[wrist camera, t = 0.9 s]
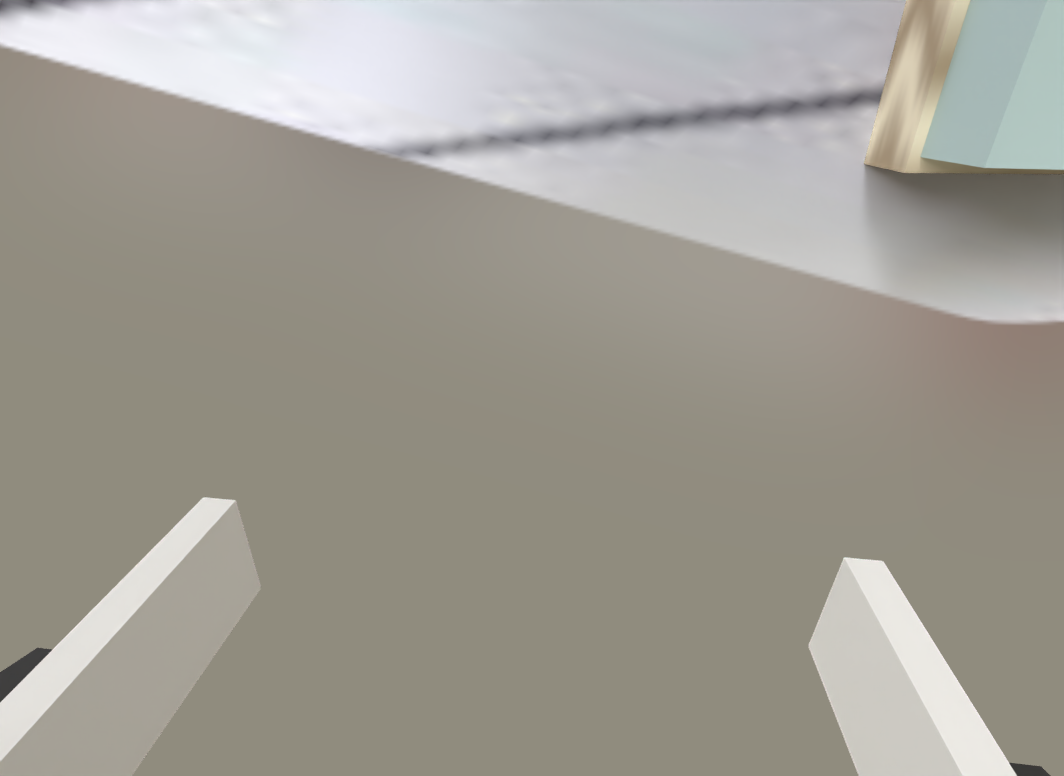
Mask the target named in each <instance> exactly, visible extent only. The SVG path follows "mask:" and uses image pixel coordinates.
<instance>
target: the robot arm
mask: <svg viewBox="0 0 1064 776" xmlns="http://www.w3.org/2000/svg"><path fill="white" fill-rule="evenodd" d="M260 589H261V585H260V582H259V579H258V575H257V572H256V568H255V564H254V561H253V558H252V554H251V551H250V547H249V544H248V540H247V537H246V534H245V530H244V527H243V523H242V520H241V516H240V513H239V509H238V506H237V503H236V500H227V499H226V500H225V499H216V498H205V497H204V498H202V499H201V500H200V501H199V502H198V503H197V504H196V506H194V507H193V508H192V509H191V511H190V512H189V513H188V514H187V515H186V516H185V517H184V518H183V519H182V520H181V521H180V522H179V523H178V524H177V525H176V526H175V527H174V528H173V529H172V530H171V531H170V532H169V533H168V534H167V535H166V536H165V537H164V538H163V539H162V540H161V541H160V542H159V543H158V544H157V545H156V546H155V547H154V548H153V549H152V550H151V551H150V552H149V553H148V554H147V555H146V556H145V557H144V558H143V559H142V560H141V561H140V562H139V563H138V564H137V565H136V566H135V567H134V568H133V569H132V570H131V571H130V572H129V573H128V574H127V575H126V576H125V577H124V578H123V579H122V580H121V581H120V582H119V583H118V584H117V585H116V586H115V587H114V588H113V589H112V590H111V591H110V592H109V593H108V595H106V596H105V597H104V598H103V599H102V600H101V601H100V602H99V603H98V605H96V607H94V609H92V610H91V612H90V613H89V614H88V615H87V616H86V617H85V618H84V619H83V620H82V621H81V622H80V623H79V624H78V625H77V626H76V627H75V628H74V629H73V630H72V631H71V632H70V633H69V634H68V635H67V636H66V637H65V638H64V639H63V640H62V641H61V642H60V643H59V644H58V645H57V646H56V647H55V648H54V649H53V650H51V649H43V648H36V649H35V650H34V651H32V652H30V653H29V654H27V655H26V656H24V657H23V658H21V659H20V660H18V661H17V662H15V663H14V664H12V665H11V666H9V667H8V668H6V669H5V670H3V671H2V672H0V776H132V775H133V773H134V772H135V770H136V769H137V767H138V766H139V764H140V763H141V762H142V760H143V759H144V757H145V756H146V754H147V753H148V751H149V750H150V749H151V747H152V746H153V744H154V743H155V741H156V740H157V738H158V737H159V735H160V734H161V733H162V731H163V730H164V728H165V727H166V725H167V724H168V722H169V721H170V719H171V718H172V717H173V715H174V714H175V712H176V711H177V709H178V708H179V706H180V705H181V703H182V702H183V701H184V699H185V697H186V696H187V695H188V693H189V692H190V690H191V689H192V687H193V686H194V685H195V683H196V682H197V680H198V679H199V677H200V676H201V674H202V673H203V672H204V670H205V669H206V667H207V666H208V664H209V663H210V661H211V660H212V658H213V657H214V655H215V654H216V652H217V651H218V650H219V648H220V647H221V645H222V644H223V642H224V641H225V640H226V638H227V637H228V635H229V634H230V632H231V631H232V629H233V628H234V626H235V625H236V623H237V622H238V621H239V619H240V618H241V616H242V615H243V613H244V612H245V610H246V609H247V607H248V606H249V604H250V603H251V602H252V600H253V599H254V597H255V596H256V594H257V593H258V592H259V590H260ZM808 647H809V649H810V652H811V654H812V657H813V659H814V662H815V665H816V667H817V670H818V672H819V675H820V677H821V680H822V683H823V685H824V688H825V690H826V693H827V695H828V698H829V701H830V703H831V706H832V708H833V711H834V713H835V716H836V719H837V721H838V724H839V726H840V728H841V731H842V734H843V736H844V739H845V742H846V744H847V746H848V749H849V752H850V754H851V757H852V760H853V762H854V765H855V767H856V770H857V772H858V775H859V776H1050V775H1049V774H1048V773H1047V772H1046V771H1045V770H1044V769H1043V768H1042V767H1040V766H1031V765H1023V764H1015V763H1009V762H1008V761H1007V759H1006V758H1005V756H1004V754H1003V753H1002V751H1001V750H1000V748H999V746H998V745H997V743H996V741H995V740H994V738H993V737H992V735H991V734H990V732H989V730H988V729H987V727H986V725H985V724H984V722H983V721H982V719H981V717H980V716H979V714H978V713H977V711H976V709H975V708H974V706H973V705H972V703H971V701H970V700H969V698H968V697H967V695H966V693H965V692H964V690H963V689H962V687H961V685H960V684H959V682H958V681H957V679H956V677H955V676H954V674H953V672H952V671H951V669H950V668H949V666H948V665H947V663H946V661H945V660H944V658H943V657H942V655H941V653H940V652H939V650H938V648H937V647H936V645H935V644H934V642H933V641H932V639H931V637H930V636H929V634H928V633H927V631H926V629H925V628H924V626H923V624H922V623H921V621H920V620H919V618H918V616H917V615H916V613H915V612H914V610H913V608H912V607H911V605H910V604H909V602H908V601H907V599H906V597H905V596H904V594H903V592H902V591H901V589H900V587H899V586H898V584H897V583H896V581H895V580H894V578H893V576H892V575H891V573H890V572H889V570H888V568H887V567H886V565H885V563H884V562H883V561H877V560H866V559H855V558H845V557H844V559H843V561H842V564H841V566H840V569H839V571H838V574H837V576H836V579H835V581H834V584H833V586H832V588H831V591H830V593H829V596H828V598H827V601H826V603H825V606H824V608H823V611H822V613H821V616H820V618H819V621H818V623H817V626H816V628H815V631H814V633H813V635H812V638H811V640H810V643H809V645H808Z"/></svg>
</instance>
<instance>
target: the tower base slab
mask: <svg viewBox="0 0 1064 776" xmlns="http://www.w3.org/2000/svg"><path fill="white" fill-rule="evenodd" d="M969 4H970V0H906V3H905V7H904V11H903V15H902V19H901V23H900V27H899V30H898V34H897V38H896V42H895V46H894V50H893V54H892V57H891V61H890V65H889V69H888V73H887V77H886V80H885V84H884V88H883V92H882V96H881V100H880V104H879V107H878V111H877V115H876V119H875V123H874V127H873V131H872V134H871V138H870V142H869V146H868V150H867V154H866V158H865V161H864V164H866V165H871V166H875V167H880V168H884V169H889V170H893V171H897V172H902V173H966V174H1064V170H1052V169H1009V168H982V167H976V166H970V165H964V164H958V163H952V162H946V161H940V160H934V159H928V158H922V157H920V156H921V153H922V150H923V147H924V144H925V141H926V138H927V135H928V132H929V128H930V125H931V122H932V119H933V116H934V113H935V110H936V107H937V103H938V100H939V97H940V94H941V91H942V88H943V85H944V82H945V78H946V75H947V72H948V69H949V66H950V63H951V60H952V57H953V53H954V50H955V47H956V44H957V41H958V38H959V35H960V32H961V28H962V25H963V22H964V19H965V16H966V13H967V10H968V7H969Z"/></svg>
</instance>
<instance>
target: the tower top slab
mask: <svg viewBox="0 0 1064 776" xmlns="http://www.w3.org/2000/svg"><path fill="white" fill-rule="evenodd" d="M920 157H922V158H928V159H934V160H940V161H946V162H952V163H958V164H964V165H970V166H976V167H982V168H1009V169H1052V170H1064V0H970V4H969V7H968V10H967V13H966V16H965V19H964V22H963V25H962V28H961V32H960V35H959V38H958V41H957V44H956V47H955V50H954V53H953V57H952V60H951V63H950V66H949V69H948V72H947V75H946V78H945V82H944V85H943V88H942V91H941V94H940V97H939V100H938V103H937V107H936V110H935V113H934V116H933V119H932V122H931V125H930V128H929V132H928V135H927V138H926V141H925V144H924V147H923V150H922V153H921V156H920Z"/></svg>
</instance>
